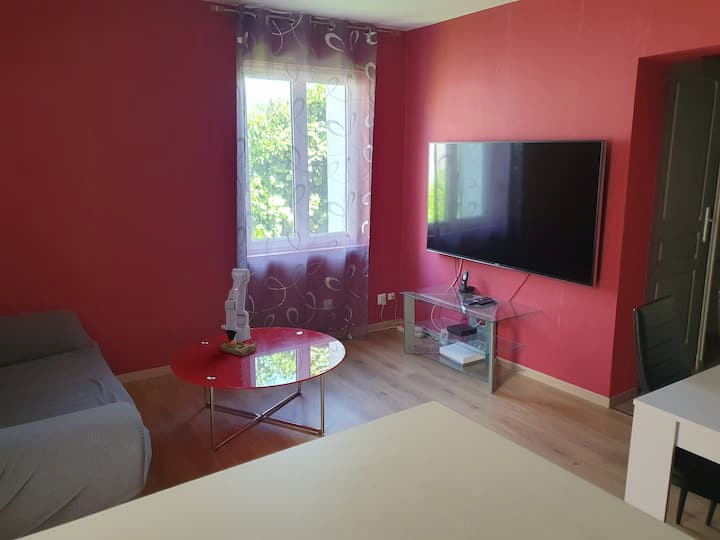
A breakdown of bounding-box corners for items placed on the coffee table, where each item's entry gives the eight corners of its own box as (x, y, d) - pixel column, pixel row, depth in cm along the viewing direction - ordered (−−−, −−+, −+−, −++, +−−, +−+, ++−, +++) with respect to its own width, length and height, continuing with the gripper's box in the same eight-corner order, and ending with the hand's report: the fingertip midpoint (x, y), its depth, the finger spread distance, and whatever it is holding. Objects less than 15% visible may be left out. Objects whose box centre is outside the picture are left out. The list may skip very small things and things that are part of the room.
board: (233, 344, 336) (233, 337, 335) (256, 350, 327) (256, 343, 326) (220, 350, 327) (219, 342, 326) (243, 356, 318) (242, 348, 317)
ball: (232, 340, 330) (235, 337, 328) (235, 345, 330) (238, 343, 328) (228, 342, 328) (231, 339, 325) (231, 347, 327) (234, 345, 325)
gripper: (217, 319, 326) (217, 341, 329) (235, 323, 319) (235, 346, 321) (226, 316, 332) (226, 338, 334) (244, 320, 324) (244, 343, 327)
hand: (231, 342), depth 328 cm, fingers closed, pressing on ball
